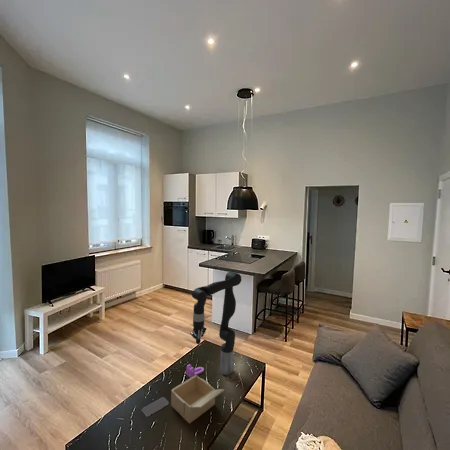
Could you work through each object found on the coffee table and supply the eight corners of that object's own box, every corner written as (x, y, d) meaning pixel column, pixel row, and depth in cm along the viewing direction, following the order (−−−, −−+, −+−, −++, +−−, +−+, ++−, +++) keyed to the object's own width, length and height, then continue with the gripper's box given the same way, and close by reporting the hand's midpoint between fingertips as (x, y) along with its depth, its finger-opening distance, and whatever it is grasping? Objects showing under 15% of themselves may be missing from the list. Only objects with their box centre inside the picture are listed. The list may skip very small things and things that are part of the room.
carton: (196, 388, 171) (196, 374, 170) (215, 403, 158) (215, 388, 158) (169, 405, 156) (169, 390, 155) (188, 424, 143) (188, 407, 142)
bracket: (190, 378, 181) (190, 369, 181) (186, 374, 185) (186, 365, 185) (205, 371, 189) (205, 362, 189) (201, 367, 194) (201, 359, 193)
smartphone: (141, 409, 152) (163, 396, 163) (141, 410, 152) (163, 397, 163) (146, 416, 147) (169, 403, 157) (146, 418, 147) (169, 404, 157)
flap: (224, 389, 151) (224, 390, 151) (215, 389, 156) (215, 390, 156) (200, 406, 137) (200, 408, 137) (191, 406, 143) (191, 408, 142)
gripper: (194, 323, 161) (194, 349, 163) (209, 317, 171) (209, 342, 172) (187, 320, 167) (186, 345, 168) (202, 314, 176) (201, 338, 178)
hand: (198, 343), depth 170 cm, fingers closed
